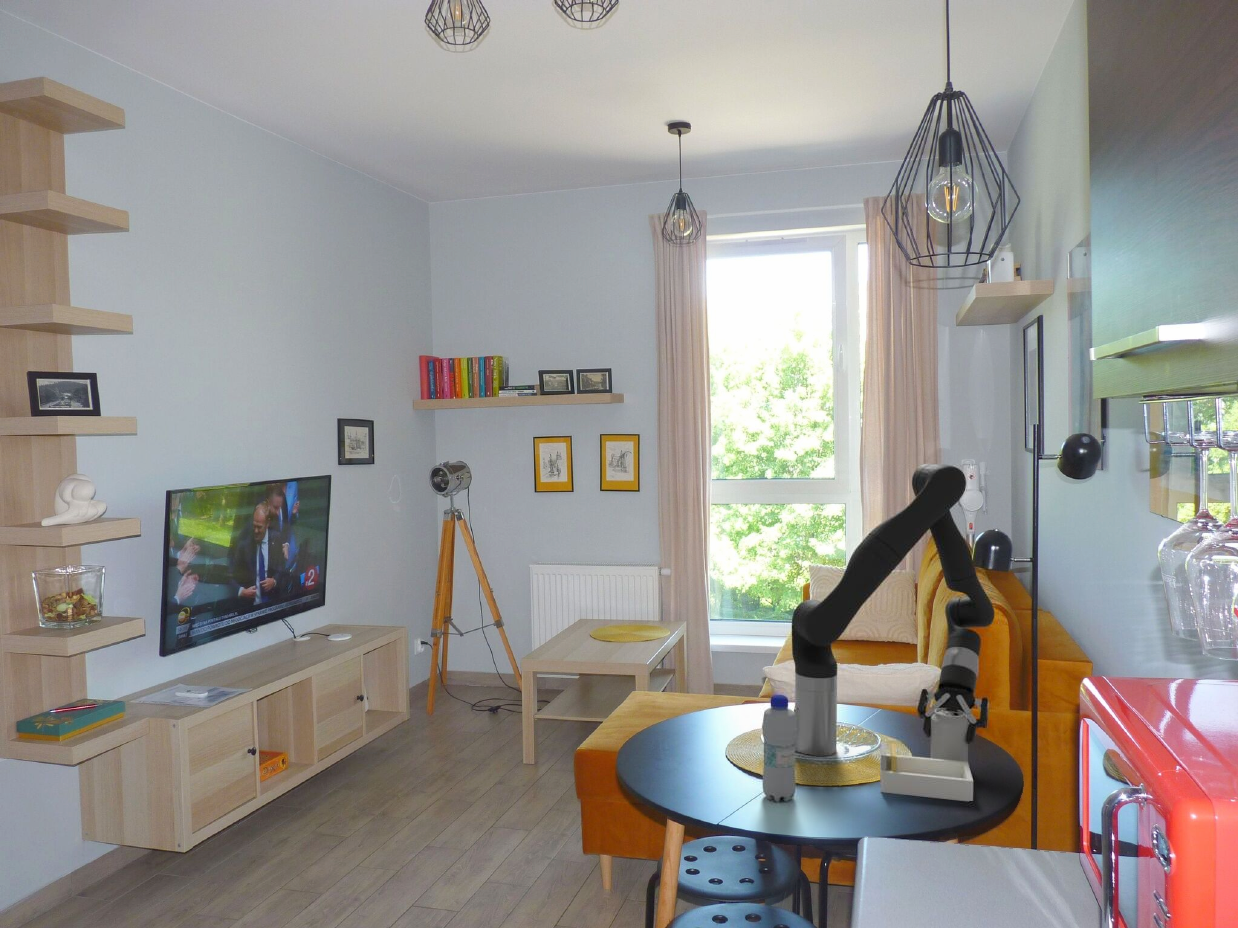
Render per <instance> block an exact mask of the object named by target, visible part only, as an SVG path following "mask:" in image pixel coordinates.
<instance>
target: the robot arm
mask: <svg viewBox="0 0 1238 928" xmlns="http://www.w3.org/2000/svg"><path fill="white" fill-rule="evenodd" d="M911 487H912V491H913V493H914V496H915V497H914V499H913V500H912V501H911V502H910V503H909V504H908V505H907V506H906V507H904V509H903V508H902V510H900V511H899V512H897V513H896V514H894V515H892V516H890V517H889V518H888V519H886V520H884V521H883V522H881V523H880V524H878V525H877V526H875V527H874V528H873V529H872V530H871V531H870V532H869V533H868V535H867V536H866V537H864V538H863V540H862V541H861V542H860V543H859V544H858V546H857V547H856V548H855V549H854V550H853V553H852V554H851V556H850V559H849V561H848V563H847V566H846V568H845V571H844V574H843V575H842V578H841V579H840V581H839V582H838V584H837V585H836V587H835V588H834V589H833V590H832V591H830V593H828V595H827V596H826V597H825V598H824V599H822V601H821V600H816V599H806V600H804V601H802V602H800V603H799V604H798V605H797V606H796V607H795V609H794V611H793V614H792V618H791V651H792V652H791V653H792V658H793V662H794V667H795V668H794V682H795V683H794V707H793V711H794V713H795V717H796V725H797V732H796V734H797V736H796V738H795V753H796V752H798V753H800V752H801V754H804V755H807V754H810V755H809V756H815V757H818V756H819V757H822V756H823V757H824V755H826V756H830V755H829V754H831V755H833V753H834V752H835V753H837V742H838V741H837V735H838V734H837V733H838V731H837V729H838V726H837V725H838V724H837V723H838V663H837V661H836V660H837V659H836V658H835V655H834V654H833V649H832V644H834V643H835V642H837V640H838V639H839V638H840V637H841V636H842V635H843V633H844V632H845V630H846V629H847V628H848V626H849V625H850V624H851V622H852V621H853V619H854V617H855V616H856V614H857V613H859V610H860V609H861V608H862V607H863V605H864V604H865V603H866V602H867V601H868V599H869V598H871V596H872V595H873V594H874V593H875V592H876V591H877V589H878V588H879V587H880V586H881V585H882V583H883V582H884V581H885V580H886V579H887V578H888V577H889V576H890V575H891V574H892V572H893V571H894V570H896V568H897V567H898V566H899V565H900V563H902V562H903V560H904V559H905V557H906V556H907V555H908V554H909V552H910V551H911V550H912V549H913V548H914V547H915V546H916V545H917V543H918V542H919V541H920V540H921V539H922V538H923V537H924V535H926V533H927V532H928V531H930V533H931V536H932V540H933V542H934V545H935V547H936V551H937V554H938V558H939V562H940V565H941V566H940V567H941V571H942V573H943V578H944V581H945V585H946V587H947V589H949V590H950V591H954V592H958V593H961V594H964V595H966V596H963V597H961V596H960V597H953V598H951V599H949V600H948V601H947V602H946V604H945V610H944V612H945V617H946V618H945V619H946V623H947V624H946V625H947V635H948V636H947V643H946V644H947V645H946V649H945V654H944V656H943V658H942V663H941V664H942V665H941V670H940V674H939V680H938V685H937V690H936V691H935V692H932V691H931V692H930V691H928V689H926V688H923V689H921V692H920V696H919V701H918V705H917V710H916V711H917V714H918V717H919V719H924V722H923V727H922V730H923V733H924V735H925V736H926V738H931V716H932V715H933V714H934V713H935V712H934V710H935V709H938V708H947V709H945V710H947V711H954V712H959V711H957V710H961V711H963V712H964V713H965V717H966V718H967V719H968V732H967V744H968V745H972V743H975V741H976V737H977V730H978V729H980V728H981V729H986V728H988V721H989V711H990V703H989V699H988V697H985V696H984V697H982V698H981V699H980V698H975V694H976V686H977V680H978V677H979V666H980V665H979V664H980V662H979V659H980V653H981V647H982V637H981V635H980V634H979V633H978V632H976V631H975V630H973V629H970V628H986V627H987V628H988V627H989V626H990V625H992V623H994V619H995V608H994V605H993V603H992V602H991V599H990V598H989V596H988V594H987V593H986V591H985V589H984V587H983V586H982V583H981V582H980V580H979V578H978V576H977V571H976V567H975V565H974V566H973V563H974V559H973V556H972V553H971V550H970V548H969V546H968V544H967V542H966V540H965V538H964V537H963V535H962V533H961V532H960V529H959V528H958V526H957V524H956V522H955V520H954V517H953V515H952V514H951V513H952V512H951V509H952V508H953V507H954V506H955V505H956V504H957V503H958V502H959V501H960V500H961V499H962V497H963V495H964V493H965V491H966V487H967V478H966V475H965V473H964V472H963V471H962V470H961V469H960V468H958V467H957V466H956V467H955V466H953V465H949V464H941V463H931V462H929V463H924V464H921V465H920V466H918V467H917V468H916V469H915V471H914V472H913V474H912V478H911ZM933 699H934V701H935V703H934V704H932V706H931V708H929V709H928V710H927V707H928V703H930V702H932V700H933ZM975 705H976V706H977V708H978V710H980V715H979V718H976V717H975V715H973V712H972V711H971V710H972V709H973V708H974V707H975ZM950 714H951V713H950ZM954 714H955V715H956V716H958V714H957V713H954ZM835 753H834V754H835Z"/></svg>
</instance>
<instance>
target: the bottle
mask: <svg viewBox="0 0 1238 928" xmlns="http://www.w3.org/2000/svg"><path fill="white" fill-rule="evenodd" d="M761 729H762V731H761V732H762V733H761V734H762V736H763V771H762V792H763V794H764V795H765V797H766V798H767V800H770V801H771V800H772V799H773V798H774V801H775V802H777V803H778V802H780V799H781V798H783V801H784V802H789V800H792V799H793V798H794V796H795V794H796V789H797V788H796V786H797V785H796V769H795V766H796V765H795V763H796V762H795V759H796V757H795V756H796V751H795V738H796V736H797V734H796V732H797V725H796V717H795V713H794V710H792V709H790V708H789V699H788V697H787V696H786V695H784V694H774V695H772V696H771V697H770V707H769V708H766V709H765V710H764V712H763V718H762V725H761Z"/></svg>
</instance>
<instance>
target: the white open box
mask: <svg viewBox="0 0 1238 928" xmlns="http://www.w3.org/2000/svg"><path fill="white" fill-rule="evenodd" d="M880 793H887V794H893V795H894V794H895V795H905V796H914V797H924V798H931V799H932V798H933V799H943V800H949V801H950V800H952V801H962V802H969V801H973V802H974V779H973V775H972V772H971V769H970V765H969V761H968V762H964V761H954V760H943V759H933V758H931V757H922V756H910V755H899V754H897V772H894V771H891V753H887V741H886V740H881V741H880Z"/></svg>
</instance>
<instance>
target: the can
mask: <svg viewBox="0 0 1238 928" xmlns="http://www.w3.org/2000/svg"><path fill="white" fill-rule="evenodd" d="M945 709H947V708H938V709H935V710H934V712H935V713H934V714H933V715H932V716H931V736H930V758H933V759H943V760H954V761H964V762H968V763H969V760H968V759H969V744H967V732H968V726H969V722H968V719H967V718H966V717H965V713H964V712H963V711H961V710H957V711H959V712H954V711H947V710H945ZM950 713H951V714H950ZM954 713H957V714H958V716H956V715H955V714H954Z"/></svg>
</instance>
